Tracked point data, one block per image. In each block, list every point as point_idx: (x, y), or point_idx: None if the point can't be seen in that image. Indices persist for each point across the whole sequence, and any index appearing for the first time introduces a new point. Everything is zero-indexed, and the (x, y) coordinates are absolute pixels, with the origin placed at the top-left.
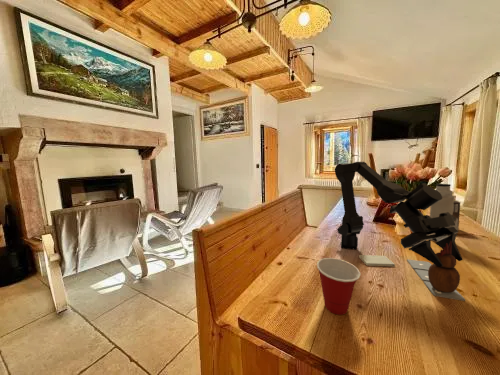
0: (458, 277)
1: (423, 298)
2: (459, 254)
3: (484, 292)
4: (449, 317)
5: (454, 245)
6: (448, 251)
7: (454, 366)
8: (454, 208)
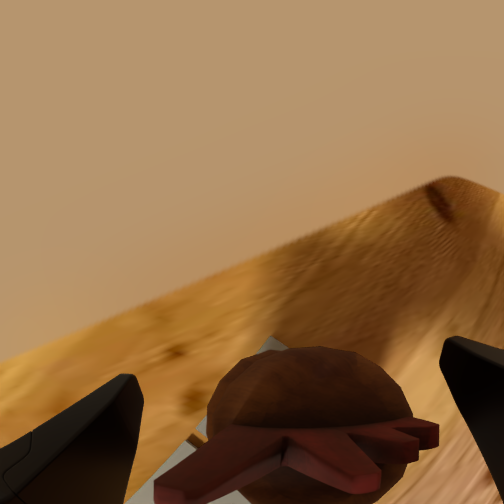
0: (272, 350)
1: (422, 388)
2: (102, 398)
3: (113, 346)
4: (425, 285)
5: (30, 461)
6: (291, 436)
7: (500, 197)
8: None
